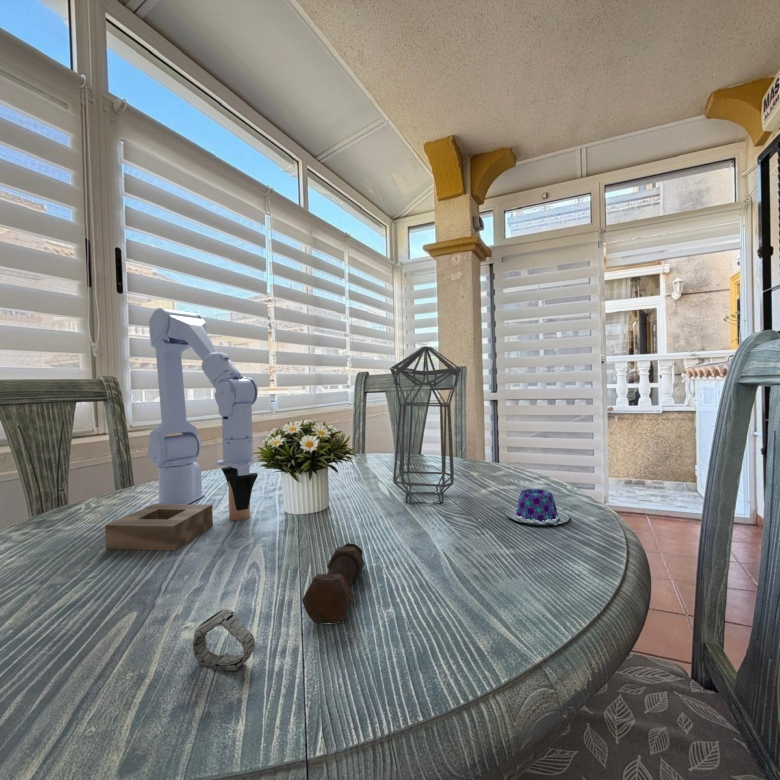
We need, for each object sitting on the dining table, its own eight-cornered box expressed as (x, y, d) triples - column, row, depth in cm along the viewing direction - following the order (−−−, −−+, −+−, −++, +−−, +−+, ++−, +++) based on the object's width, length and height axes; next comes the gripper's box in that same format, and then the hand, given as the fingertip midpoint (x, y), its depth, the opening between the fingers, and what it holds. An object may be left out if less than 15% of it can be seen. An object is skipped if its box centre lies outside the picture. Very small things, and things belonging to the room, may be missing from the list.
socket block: (154, 524, 81) (153, 504, 81) (212, 525, 80) (212, 504, 79) (106, 549, 69) (105, 525, 69) (174, 550, 68) (173, 526, 68)
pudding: (574, 532, 73) (574, 502, 73) (504, 527, 76) (503, 498, 76) (565, 511, 84) (565, 485, 84) (504, 507, 88) (504, 483, 88)
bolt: (357, 578, 61) (333, 637, 46) (328, 560, 61) (294, 613, 46) (376, 544, 61) (358, 592, 46) (347, 526, 61) (319, 568, 46)
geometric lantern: (395, 489, 104) (396, 349, 104) (459, 491, 102) (459, 349, 102) (386, 507, 88) (386, 342, 88) (461, 510, 86) (461, 342, 86)
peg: (235, 514, 86) (234, 475, 86) (253, 514, 86) (252, 475, 86) (225, 520, 82) (224, 480, 82) (244, 520, 82) (243, 480, 82)
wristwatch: (209, 649, 42) (208, 600, 42) (262, 659, 40) (261, 608, 40) (182, 672, 39) (181, 619, 39) (239, 684, 37) (237, 629, 37)
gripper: (213, 435, 89) (215, 499, 89) (220, 443, 76) (222, 517, 76) (247, 433, 92) (249, 494, 92) (259, 440, 79) (261, 511, 79)
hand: (239, 504), depth 84 cm, fingers open, 7 cm apart
